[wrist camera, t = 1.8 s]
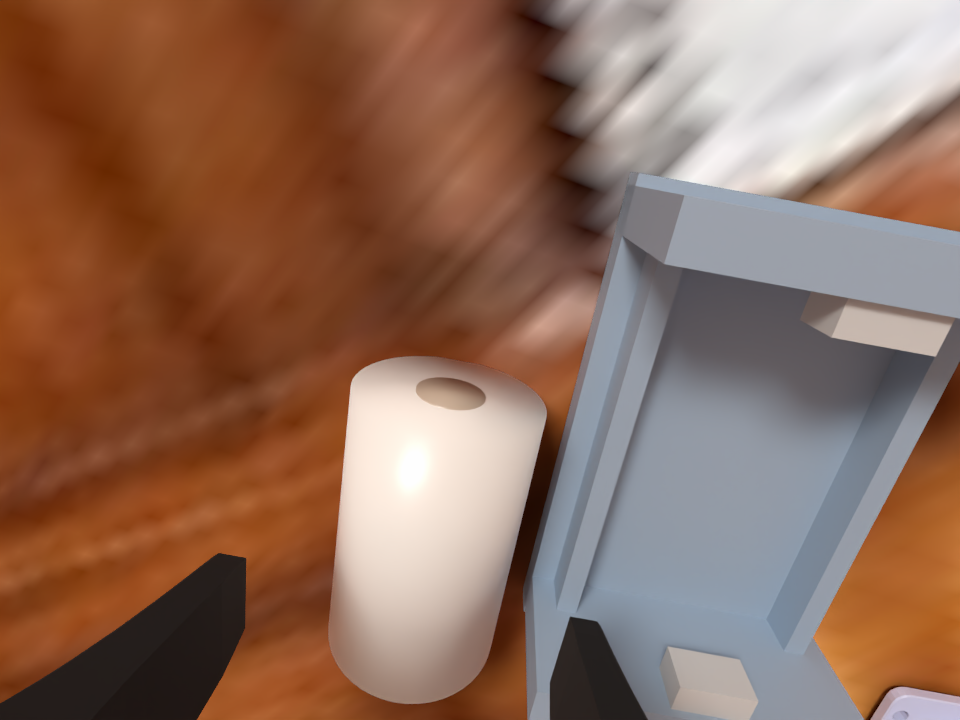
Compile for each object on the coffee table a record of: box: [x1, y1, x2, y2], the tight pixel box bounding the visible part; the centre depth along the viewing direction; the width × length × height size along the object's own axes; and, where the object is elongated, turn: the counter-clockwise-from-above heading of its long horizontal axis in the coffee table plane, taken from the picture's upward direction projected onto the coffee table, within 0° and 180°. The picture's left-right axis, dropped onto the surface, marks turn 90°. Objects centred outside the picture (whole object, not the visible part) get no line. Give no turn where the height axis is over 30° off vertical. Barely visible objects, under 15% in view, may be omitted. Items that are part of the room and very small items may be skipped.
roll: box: [328, 356, 547, 704], centre depth 15 cm, size 8×5×5 cm, turn 170°
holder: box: [523, 172, 960, 720], centre depth 14 cm, size 14×9×5 cm, turn 170°
